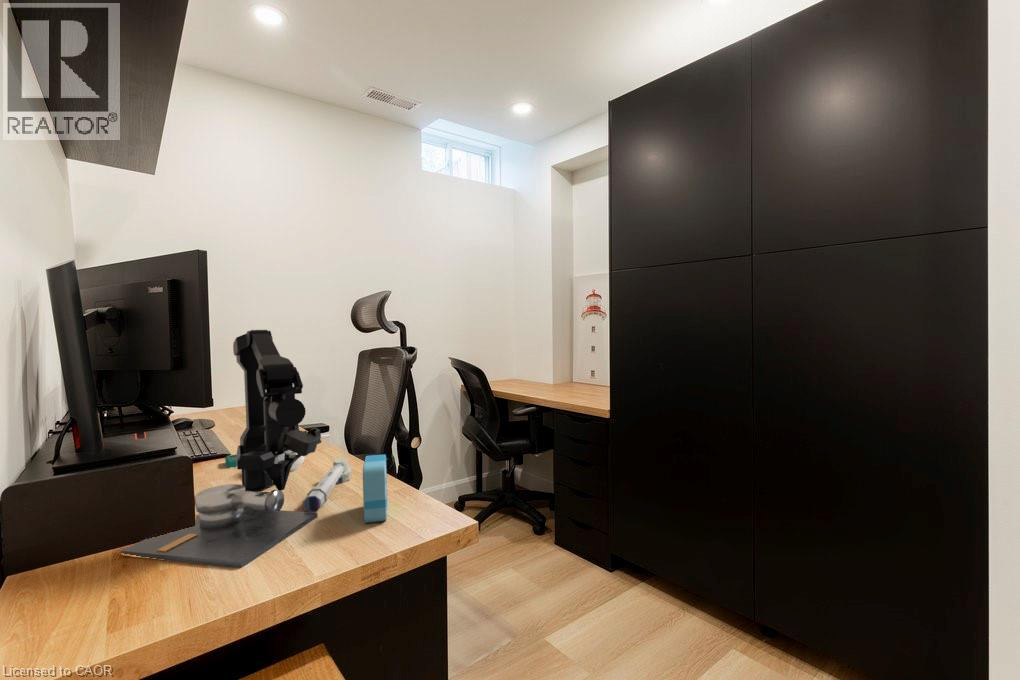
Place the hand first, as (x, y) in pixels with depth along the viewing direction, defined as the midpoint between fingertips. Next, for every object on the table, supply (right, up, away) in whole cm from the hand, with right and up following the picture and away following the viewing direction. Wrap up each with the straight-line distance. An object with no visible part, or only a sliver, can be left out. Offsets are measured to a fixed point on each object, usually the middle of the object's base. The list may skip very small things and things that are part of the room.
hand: (281, 490), depth 104 cm
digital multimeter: (-31, -6, +46) cm, 56 cm away
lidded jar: (-16, -6, +36) cm, 40 cm away
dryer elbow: (-7, -3, -5) cm, 8 cm away
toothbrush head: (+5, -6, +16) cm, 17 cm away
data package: (+21, -6, +1) cm, 22 cm away
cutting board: (-7, -6, -8) cm, 13 cm away
